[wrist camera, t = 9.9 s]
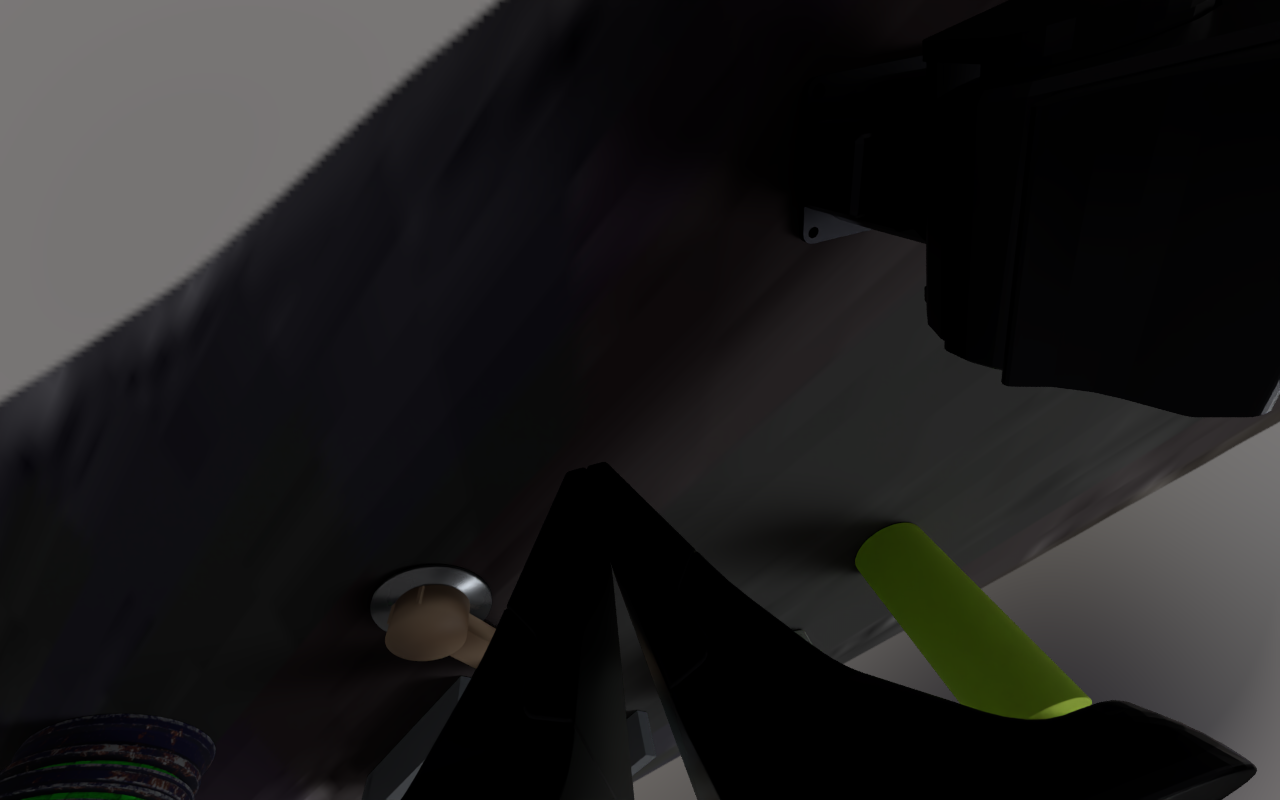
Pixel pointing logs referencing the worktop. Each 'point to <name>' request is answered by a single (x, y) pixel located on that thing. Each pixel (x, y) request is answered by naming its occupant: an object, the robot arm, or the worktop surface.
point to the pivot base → (430, 575)
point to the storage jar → (110, 760)
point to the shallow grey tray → (413, 749)
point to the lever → (436, 626)
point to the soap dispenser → (963, 629)
